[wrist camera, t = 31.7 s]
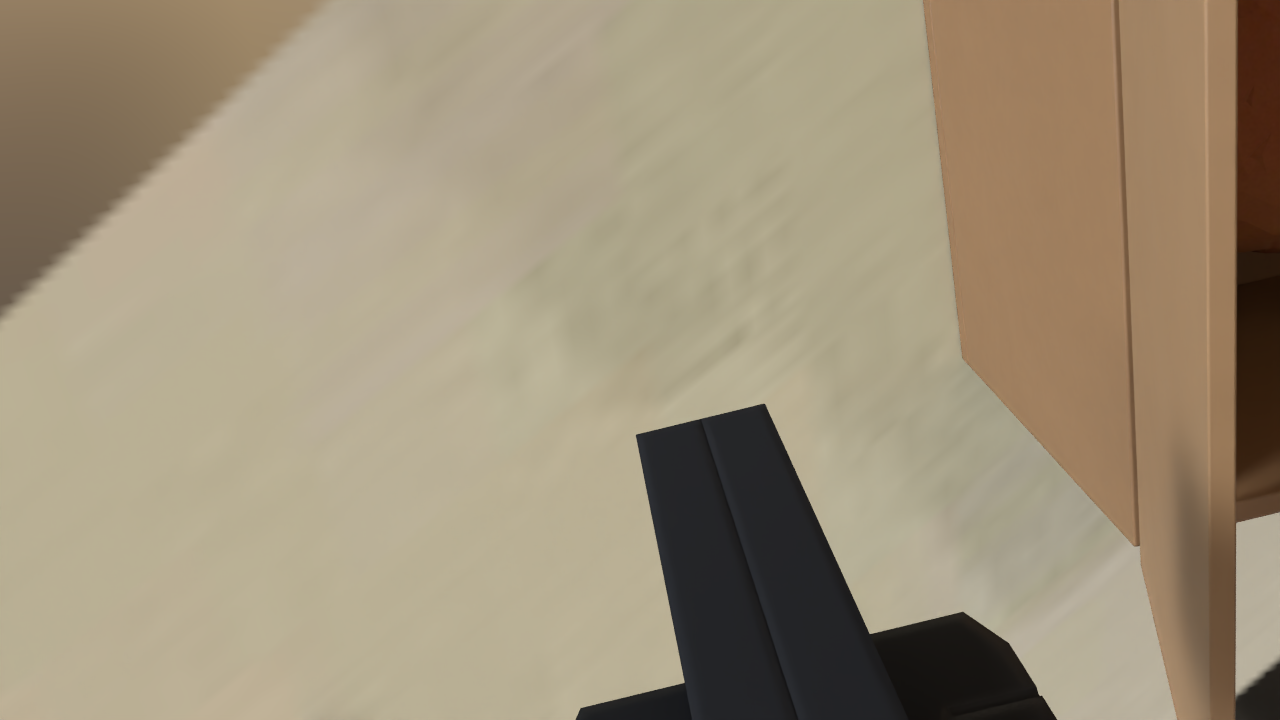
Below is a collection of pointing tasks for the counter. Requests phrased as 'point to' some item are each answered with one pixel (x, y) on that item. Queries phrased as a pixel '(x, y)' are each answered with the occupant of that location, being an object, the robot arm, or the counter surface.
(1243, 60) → the burger
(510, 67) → the counter surface
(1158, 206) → the flap
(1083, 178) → the carton
